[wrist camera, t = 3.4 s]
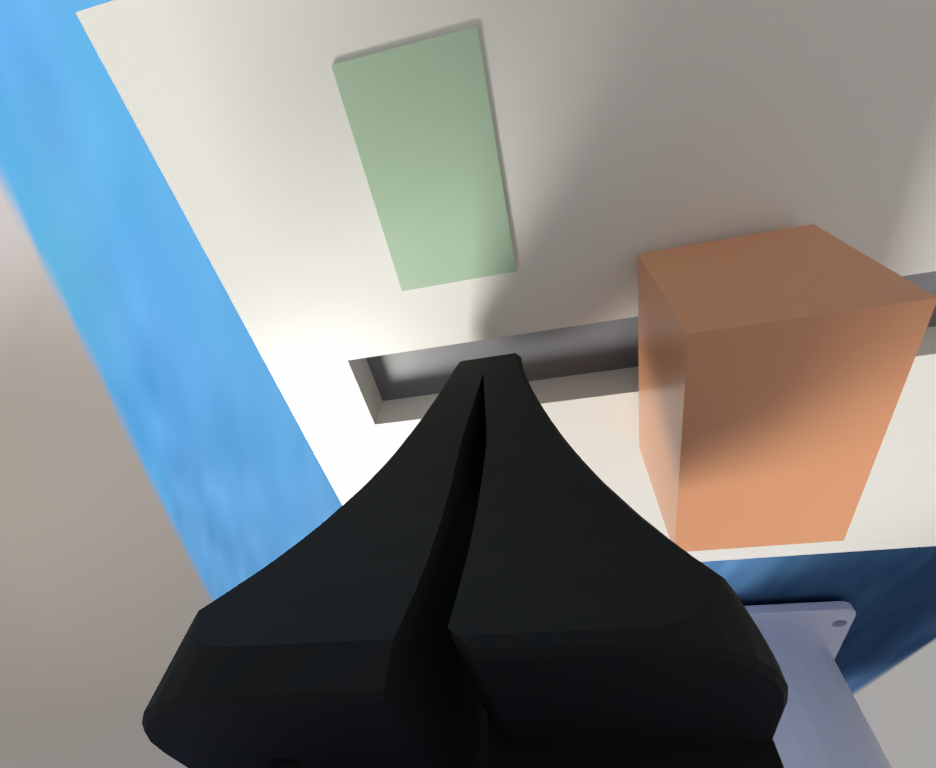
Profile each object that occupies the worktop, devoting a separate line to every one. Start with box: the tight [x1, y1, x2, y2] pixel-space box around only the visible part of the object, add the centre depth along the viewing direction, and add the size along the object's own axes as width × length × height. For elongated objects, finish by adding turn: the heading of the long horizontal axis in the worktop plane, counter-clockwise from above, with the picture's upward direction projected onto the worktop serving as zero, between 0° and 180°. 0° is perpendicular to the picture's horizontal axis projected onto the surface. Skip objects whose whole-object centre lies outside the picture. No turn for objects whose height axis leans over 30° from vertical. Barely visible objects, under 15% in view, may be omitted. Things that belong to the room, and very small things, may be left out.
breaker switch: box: [638, 224, 936, 552], centre depth 9 cm, size 5×3×4 cm, turn 12°
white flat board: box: [75, 0, 936, 562], centre depth 11 cm, size 16×20×2 cm
